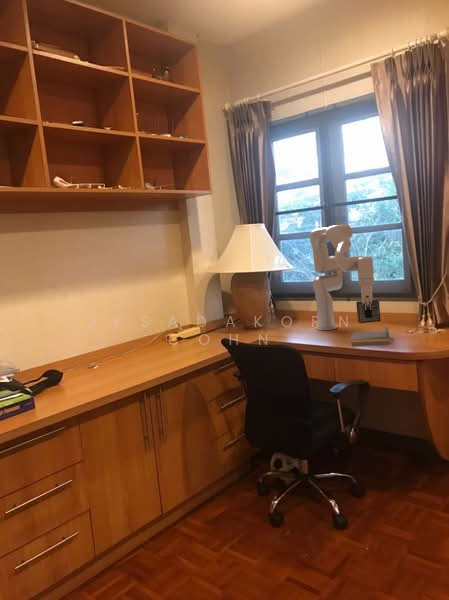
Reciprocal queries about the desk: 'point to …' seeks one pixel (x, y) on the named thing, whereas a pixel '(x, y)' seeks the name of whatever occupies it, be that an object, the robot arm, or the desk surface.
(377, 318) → the small box
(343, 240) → the robot arm
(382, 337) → the dock
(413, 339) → the desk surface
